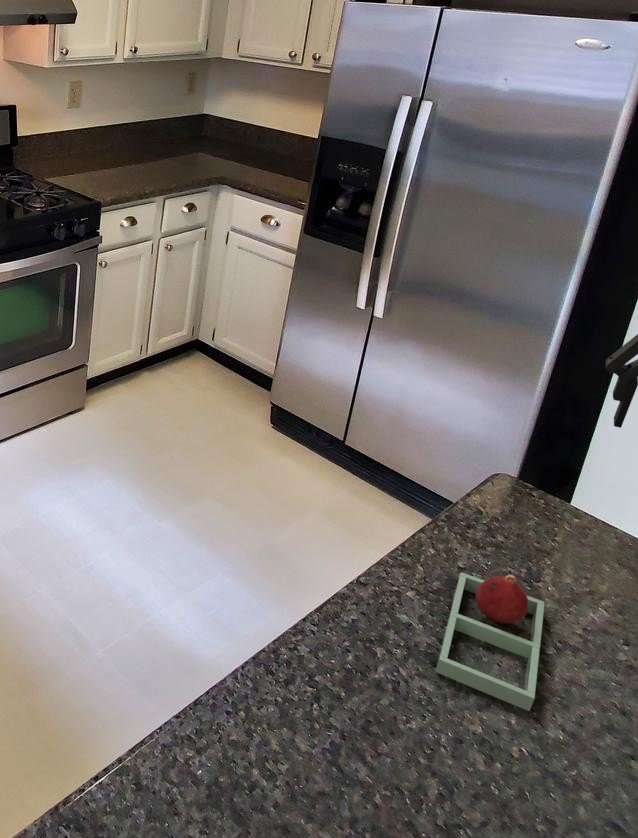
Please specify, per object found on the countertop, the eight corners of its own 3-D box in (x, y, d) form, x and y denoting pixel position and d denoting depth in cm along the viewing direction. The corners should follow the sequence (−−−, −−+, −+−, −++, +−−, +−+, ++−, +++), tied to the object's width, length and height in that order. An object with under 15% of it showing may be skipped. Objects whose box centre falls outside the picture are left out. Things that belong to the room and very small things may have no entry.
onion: (476, 632, 106) (492, 586, 103) (464, 602, 111) (479, 557, 108) (525, 640, 105) (543, 594, 102) (510, 609, 110) (527, 564, 107)
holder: (455, 588, 115) (460, 571, 114) (538, 618, 110) (544, 601, 108) (433, 677, 101) (439, 659, 99) (527, 716, 95) (534, 698, 94)
